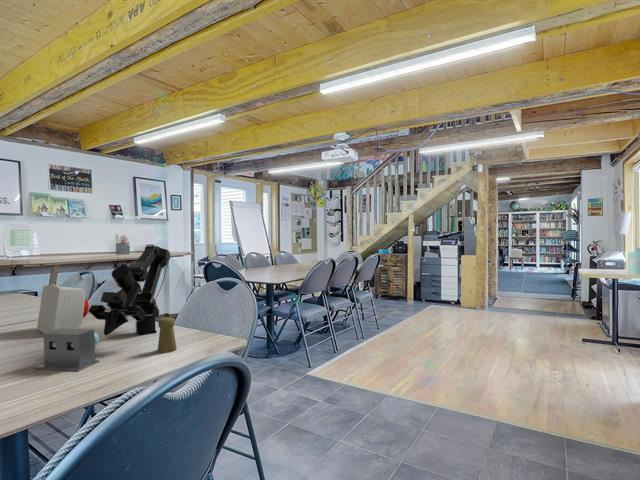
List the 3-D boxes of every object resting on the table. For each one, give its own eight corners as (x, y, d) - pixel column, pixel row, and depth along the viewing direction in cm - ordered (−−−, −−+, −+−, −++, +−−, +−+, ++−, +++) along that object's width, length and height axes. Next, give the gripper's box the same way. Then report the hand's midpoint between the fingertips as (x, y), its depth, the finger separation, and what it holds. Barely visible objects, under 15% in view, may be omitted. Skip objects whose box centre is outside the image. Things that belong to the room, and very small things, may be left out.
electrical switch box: (92, 333, 159) (98, 286, 162) (52, 336, 147) (60, 285, 149) (75, 329, 167) (81, 284, 169) (36, 331, 155) (43, 283, 157)
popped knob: (87, 344, 120) (86, 331, 119) (99, 345, 119) (98, 331, 119) (66, 352, 112) (66, 337, 112) (79, 352, 111) (79, 338, 111)
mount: (57, 359, 118) (56, 328, 118) (99, 361, 116) (98, 329, 116) (34, 368, 110) (33, 335, 110) (78, 371, 108) (77, 336, 108)
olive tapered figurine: (180, 348, 129) (179, 316, 128) (168, 353, 123) (167, 320, 123) (166, 346, 130) (165, 315, 130) (153, 352, 125) (152, 319, 125)
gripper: (91, 281, 131) (66, 321, 120) (139, 282, 128) (117, 322, 117) (108, 300, 139) (86, 338, 128) (154, 300, 136) (135, 340, 125)
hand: (105, 334), depth 125 cm, fingers closed
